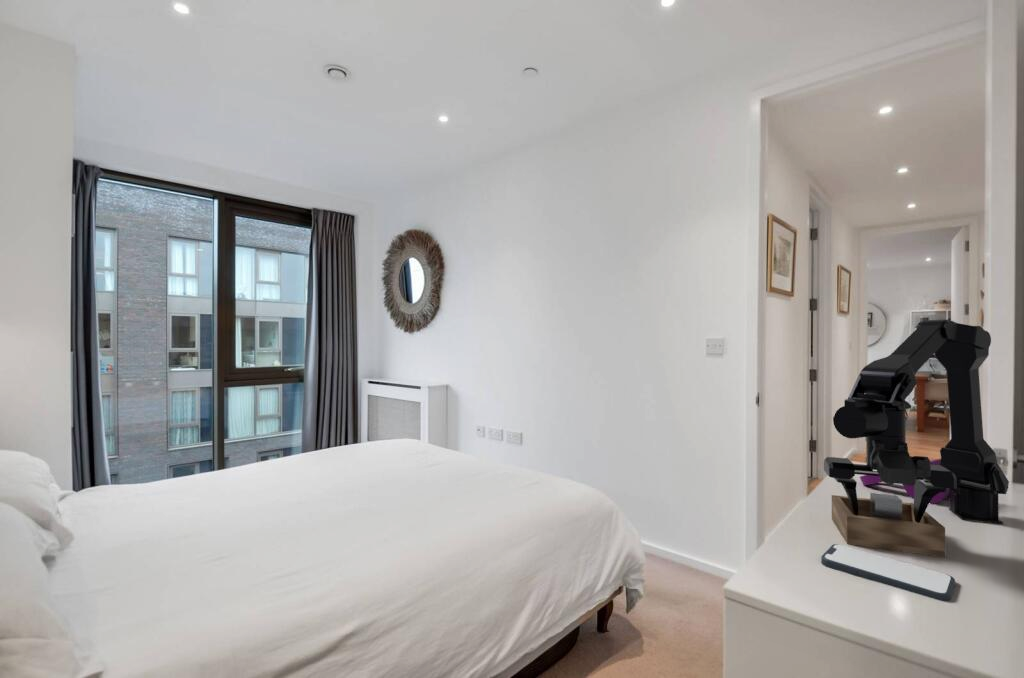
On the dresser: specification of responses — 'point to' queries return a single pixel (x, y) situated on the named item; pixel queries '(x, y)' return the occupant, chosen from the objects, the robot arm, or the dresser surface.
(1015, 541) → the dresser surface
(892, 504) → the grey block
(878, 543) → the open wooden box
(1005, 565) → the dresser surface
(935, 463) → the mounting bracket
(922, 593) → the phone case
